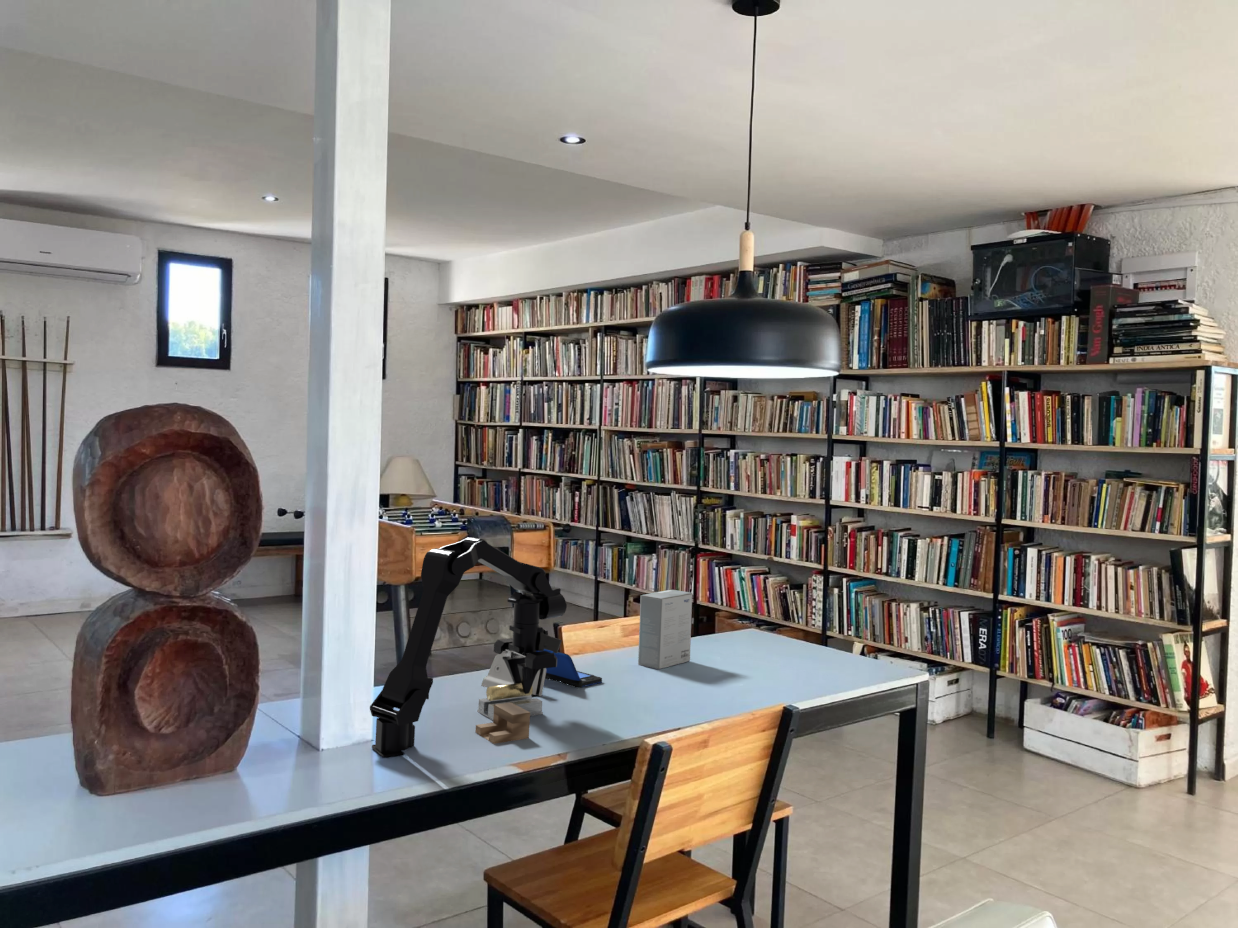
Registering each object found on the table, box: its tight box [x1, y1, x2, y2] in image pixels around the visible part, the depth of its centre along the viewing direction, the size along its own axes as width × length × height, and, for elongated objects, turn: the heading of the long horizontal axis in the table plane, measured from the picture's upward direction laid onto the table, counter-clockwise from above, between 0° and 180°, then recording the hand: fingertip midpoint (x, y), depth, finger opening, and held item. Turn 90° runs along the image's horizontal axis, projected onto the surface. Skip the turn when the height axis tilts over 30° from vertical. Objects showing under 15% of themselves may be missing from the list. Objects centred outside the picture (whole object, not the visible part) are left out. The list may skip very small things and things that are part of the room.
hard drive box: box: [637, 589, 693, 670], centre depth 263 cm, size 16×8×20 cm, turn 141°
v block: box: [477, 695, 544, 721], centre depth 204 cm, size 12×8×4 cm, turn 125°
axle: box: [485, 683, 533, 701], centre depth 204 cm, size 10×3×3 cm, turn 126°
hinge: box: [481, 652, 546, 697], centre depth 227 cm, size 17×5×10 cm, turn 50°
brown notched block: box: [475, 702, 531, 745], centre depth 189 cm, size 8×8×6 cm
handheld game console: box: [536, 649, 603, 689], centre depth 238 cm, size 16×13×9 cm
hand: (522, 691), depth 206 cm, fingers open, 3 cm apart
